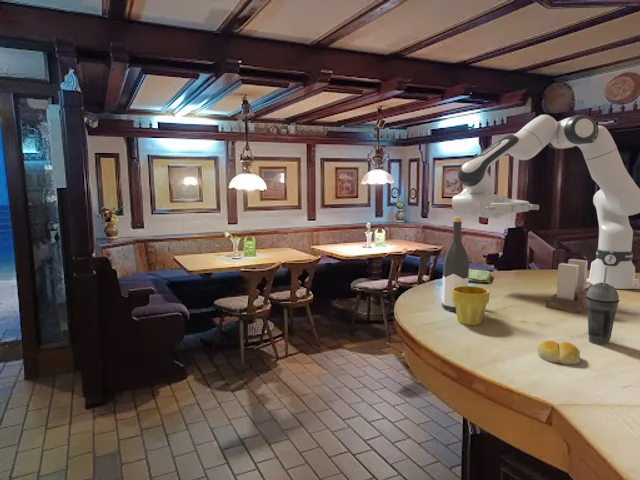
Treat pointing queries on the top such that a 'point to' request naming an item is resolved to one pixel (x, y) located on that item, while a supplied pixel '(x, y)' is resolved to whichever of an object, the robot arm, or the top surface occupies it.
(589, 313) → the beverage cup
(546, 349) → the bread roll
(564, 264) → the clay strip
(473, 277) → the washcloth
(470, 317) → the plant pot
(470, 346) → the top surface
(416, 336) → the top surface
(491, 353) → the top surface
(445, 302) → the wine bottle
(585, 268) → the clay strip
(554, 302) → the wooden divided tray
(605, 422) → the top surface
